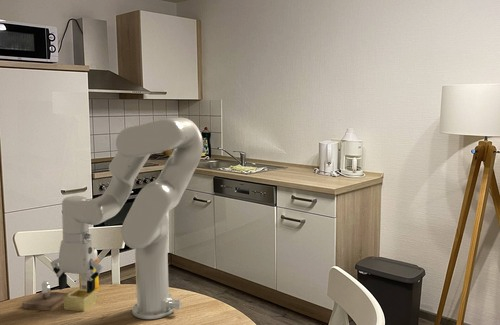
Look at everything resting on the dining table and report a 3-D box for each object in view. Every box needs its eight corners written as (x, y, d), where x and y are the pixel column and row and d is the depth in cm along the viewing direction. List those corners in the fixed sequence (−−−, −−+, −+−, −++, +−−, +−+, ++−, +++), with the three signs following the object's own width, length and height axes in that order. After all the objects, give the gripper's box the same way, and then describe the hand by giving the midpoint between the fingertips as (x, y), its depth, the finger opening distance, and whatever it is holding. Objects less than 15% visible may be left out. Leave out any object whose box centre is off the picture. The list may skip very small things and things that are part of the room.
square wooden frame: (96, 302, 151) (96, 290, 150) (84, 311, 144) (83, 298, 143) (77, 300, 152) (76, 288, 152) (64, 309, 146) (63, 297, 145)
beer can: (102, 289, 161) (99, 246, 159) (94, 296, 155) (92, 252, 153) (85, 289, 162) (82, 246, 160) (76, 296, 156) (74, 251, 154)
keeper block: (70, 297, 155) (69, 276, 154) (51, 310, 145) (49, 288, 144) (43, 295, 157) (42, 274, 156) (22, 307, 147) (21, 286, 146)
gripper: (107, 235, 147) (108, 288, 149) (58, 231, 151) (59, 282, 153) (94, 242, 140) (95, 297, 142) (43, 237, 144) (44, 291, 146)
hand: (76, 289), depth 148 cm, fingers open, 9 cm apart
